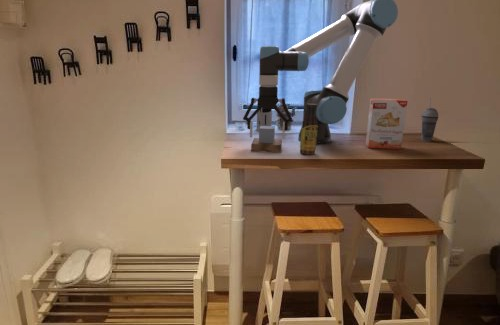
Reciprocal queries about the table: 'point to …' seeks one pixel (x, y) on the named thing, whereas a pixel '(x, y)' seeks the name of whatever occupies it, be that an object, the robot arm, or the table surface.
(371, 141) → the cracker box
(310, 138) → the sauce bottle
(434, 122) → the beverage cup
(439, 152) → the table surface
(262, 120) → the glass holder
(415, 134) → the table surface
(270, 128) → the grey cube
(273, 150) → the walnut base
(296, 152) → the table surface
